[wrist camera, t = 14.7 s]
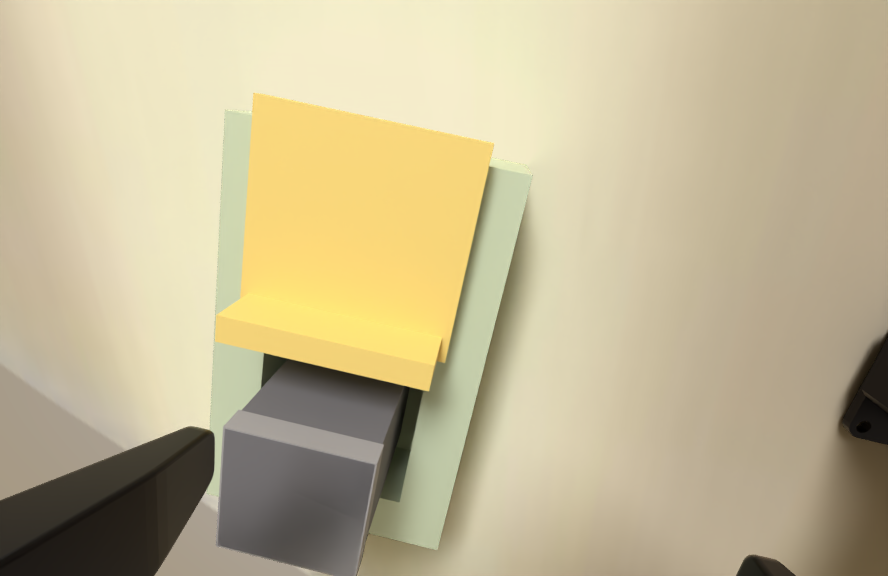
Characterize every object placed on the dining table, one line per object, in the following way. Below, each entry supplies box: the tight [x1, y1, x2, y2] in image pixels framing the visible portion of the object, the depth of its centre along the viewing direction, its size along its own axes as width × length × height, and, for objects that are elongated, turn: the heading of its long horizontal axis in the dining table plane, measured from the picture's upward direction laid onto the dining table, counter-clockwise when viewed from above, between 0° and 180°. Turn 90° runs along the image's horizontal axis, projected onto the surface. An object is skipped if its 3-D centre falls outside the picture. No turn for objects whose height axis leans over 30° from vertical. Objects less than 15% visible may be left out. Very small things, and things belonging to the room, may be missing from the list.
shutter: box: [215, 93, 494, 391], centre depth 13 cm, size 6×6×2 cm
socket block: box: [207, 110, 533, 550], centre depth 18 cm, size 9×14×4 cm, turn 169°
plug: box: [216, 359, 410, 576], centre depth 17 cm, size 4×4×7 cm
